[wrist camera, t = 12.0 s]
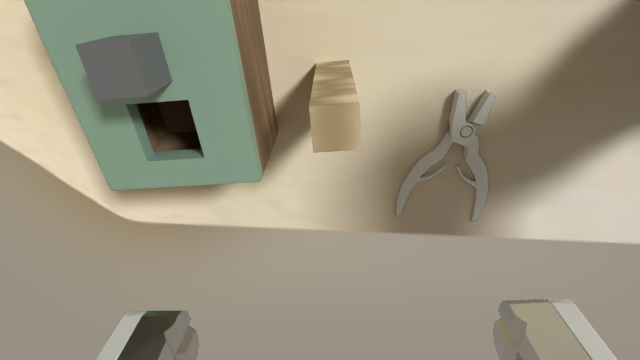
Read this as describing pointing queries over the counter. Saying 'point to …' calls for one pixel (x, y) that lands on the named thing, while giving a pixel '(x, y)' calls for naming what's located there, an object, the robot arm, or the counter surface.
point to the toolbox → (176, 117)
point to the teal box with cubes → (153, 85)
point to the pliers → (459, 134)
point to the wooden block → (334, 108)
